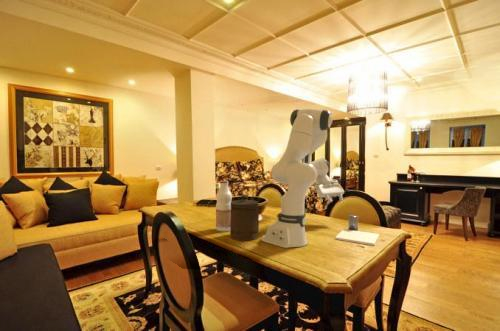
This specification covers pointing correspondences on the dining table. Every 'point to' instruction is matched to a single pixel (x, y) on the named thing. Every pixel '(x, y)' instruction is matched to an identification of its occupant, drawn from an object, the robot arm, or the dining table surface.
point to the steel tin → (353, 222)
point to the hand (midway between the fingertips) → (337, 200)
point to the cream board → (358, 237)
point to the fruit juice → (223, 207)
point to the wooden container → (244, 219)
